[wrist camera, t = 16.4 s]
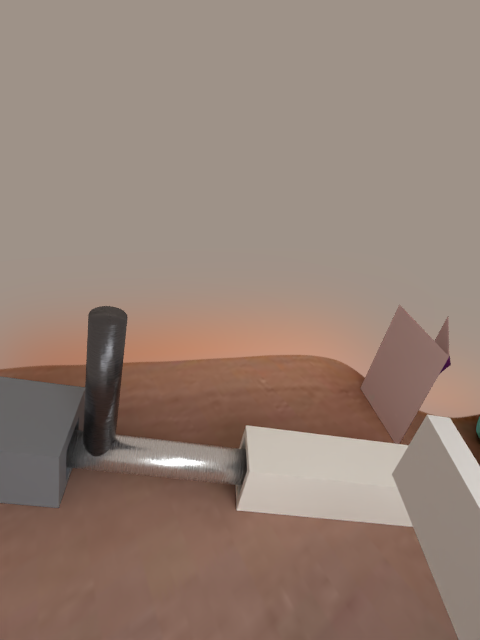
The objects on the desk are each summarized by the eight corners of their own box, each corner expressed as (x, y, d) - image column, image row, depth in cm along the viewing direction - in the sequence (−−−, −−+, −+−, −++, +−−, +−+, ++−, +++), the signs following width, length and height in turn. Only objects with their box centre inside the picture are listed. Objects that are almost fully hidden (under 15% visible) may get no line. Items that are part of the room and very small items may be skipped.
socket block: (83, 435, 49) (85, 387, 45) (58, 507, 41) (59, 457, 38) (-14, 424, 48) (-19, 374, 44) (-57, 497, 40) (-68, 443, 36)
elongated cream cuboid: (393, 480, 53) (414, 446, 50) (412, 526, 48) (436, 491, 45) (234, 463, 50) (246, 425, 47) (236, 510, 45) (249, 471, 42)
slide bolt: (280, 469, 49) (331, 339, 40) (285, 497, 46) (341, 363, 37) (36, 442, 46) (31, 292, 36) (23, 471, 42) (14, 315, 33)
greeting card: (403, 449, 58) (456, 359, 51) (349, 425, 60) (392, 334, 52) (409, 400, 68) (454, 318, 60) (362, 381, 69) (400, 298, 62)
